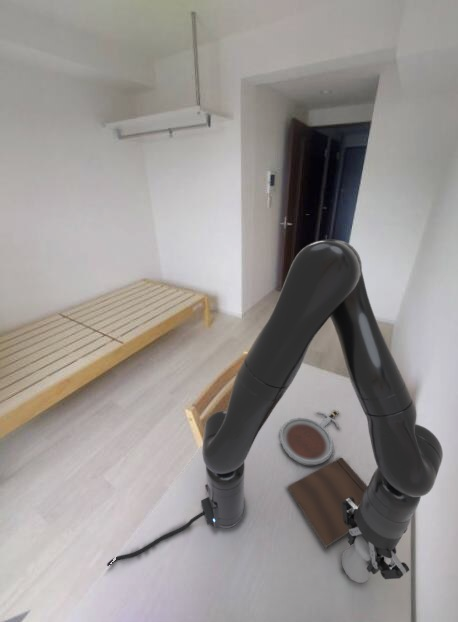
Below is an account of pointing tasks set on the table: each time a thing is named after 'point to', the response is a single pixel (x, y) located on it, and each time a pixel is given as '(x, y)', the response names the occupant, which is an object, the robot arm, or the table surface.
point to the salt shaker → (357, 560)
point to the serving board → (328, 498)
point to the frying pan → (307, 439)
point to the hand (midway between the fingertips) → (361, 554)
